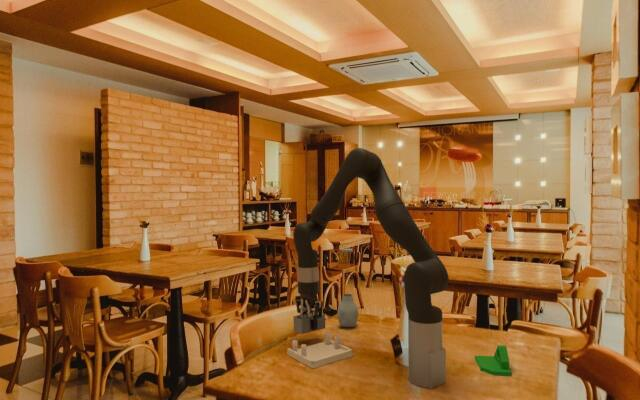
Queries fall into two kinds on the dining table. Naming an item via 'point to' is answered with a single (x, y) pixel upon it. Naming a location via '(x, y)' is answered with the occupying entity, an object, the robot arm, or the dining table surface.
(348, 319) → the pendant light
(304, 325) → the block
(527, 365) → the dining table surface
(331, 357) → the tray
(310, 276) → the robot arm
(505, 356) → the bracket
